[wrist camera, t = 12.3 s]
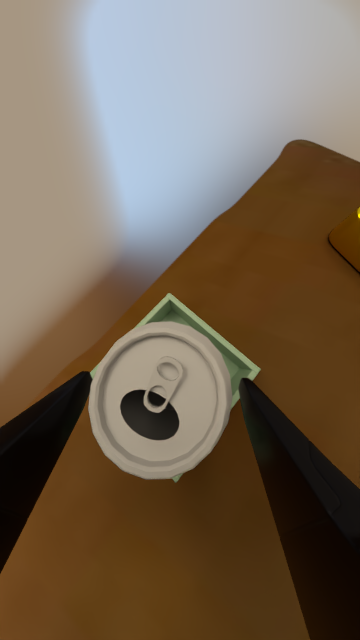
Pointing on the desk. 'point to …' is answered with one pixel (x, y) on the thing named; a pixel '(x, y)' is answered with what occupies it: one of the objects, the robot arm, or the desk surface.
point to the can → (160, 400)
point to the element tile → (348, 239)
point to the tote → (232, 357)
